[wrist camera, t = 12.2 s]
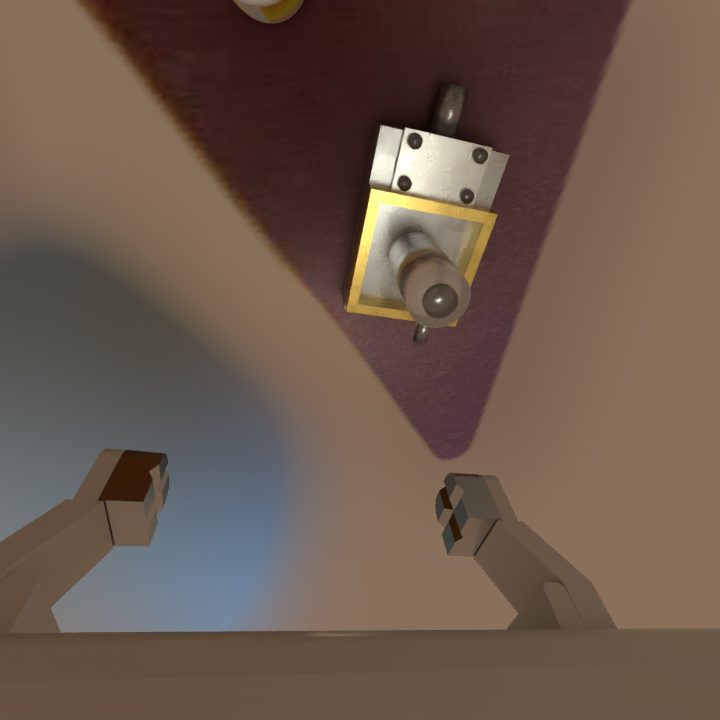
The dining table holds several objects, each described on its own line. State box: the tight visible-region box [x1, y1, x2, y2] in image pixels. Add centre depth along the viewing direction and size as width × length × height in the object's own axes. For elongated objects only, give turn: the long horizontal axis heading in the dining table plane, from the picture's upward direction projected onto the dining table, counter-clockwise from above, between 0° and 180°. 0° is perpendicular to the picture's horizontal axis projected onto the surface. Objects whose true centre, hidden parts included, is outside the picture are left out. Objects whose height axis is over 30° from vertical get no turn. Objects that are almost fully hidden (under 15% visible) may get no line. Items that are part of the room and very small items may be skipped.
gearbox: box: [342, 83, 510, 327], centre depth 40 cm, size 22×12×6 cm, turn 168°
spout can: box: [388, 232, 471, 345], centre depth 37 cm, size 7×5×11 cm
